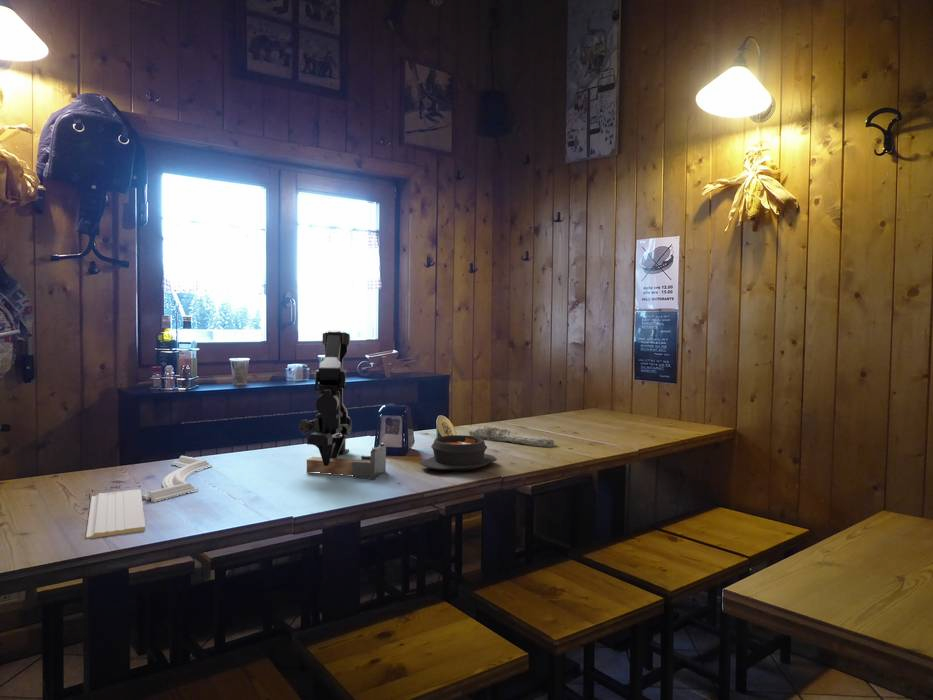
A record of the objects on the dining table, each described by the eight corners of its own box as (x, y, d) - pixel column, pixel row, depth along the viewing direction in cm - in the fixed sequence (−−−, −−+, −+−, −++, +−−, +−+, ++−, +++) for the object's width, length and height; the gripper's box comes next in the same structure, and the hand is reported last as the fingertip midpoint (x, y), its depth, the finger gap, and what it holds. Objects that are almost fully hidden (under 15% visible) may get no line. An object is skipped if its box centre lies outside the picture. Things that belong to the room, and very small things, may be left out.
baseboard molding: (77, 542, 124) (145, 533, 130) (77, 528, 124) (145, 520, 129) (84, 501, 151) (140, 495, 157) (84, 489, 151) (140, 483, 156)
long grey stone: (546, 453, 218) (558, 450, 226) (547, 438, 217) (559, 435, 226) (462, 436, 236) (476, 433, 245) (463, 422, 236) (477, 420, 245)
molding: (173, 464, 189) (173, 455, 189) (216, 462, 192) (216, 453, 192) (137, 505, 148) (136, 493, 148) (192, 502, 151) (192, 490, 151)
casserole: (471, 456, 205) (472, 430, 204) (510, 467, 190) (510, 440, 190) (407, 466, 189) (407, 439, 189) (443, 479, 174) (444, 449, 174)
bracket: (363, 470, 183) (363, 440, 183) (386, 471, 182) (386, 442, 182) (351, 478, 174) (351, 447, 173) (374, 480, 172) (375, 449, 172)
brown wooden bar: (306, 473, 179) (306, 459, 179) (312, 470, 183) (312, 456, 183) (366, 477, 176) (366, 463, 176) (371, 473, 180) (371, 460, 179)
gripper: (316, 404, 190) (316, 455, 190) (288, 413, 171) (288, 469, 172) (351, 405, 188) (351, 457, 188) (327, 415, 169) (326, 472, 170)
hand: (329, 463), depth 180 cm, fingers open, 5 cm apart
